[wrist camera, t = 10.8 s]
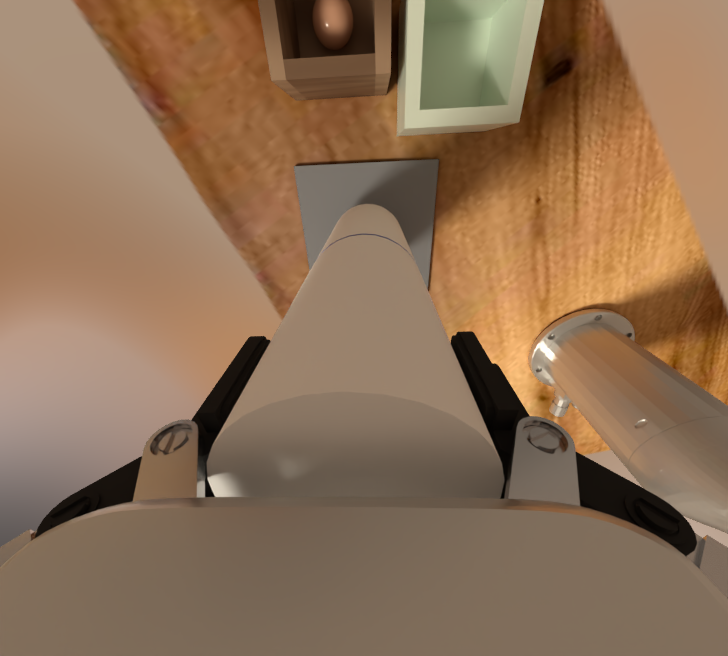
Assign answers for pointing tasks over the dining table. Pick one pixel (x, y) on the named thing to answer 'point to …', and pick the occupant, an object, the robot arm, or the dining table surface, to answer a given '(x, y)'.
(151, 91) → the dining table surface
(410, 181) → the felt mat
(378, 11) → the walnut cup
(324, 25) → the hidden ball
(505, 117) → the green cup
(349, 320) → the cylindrical container
